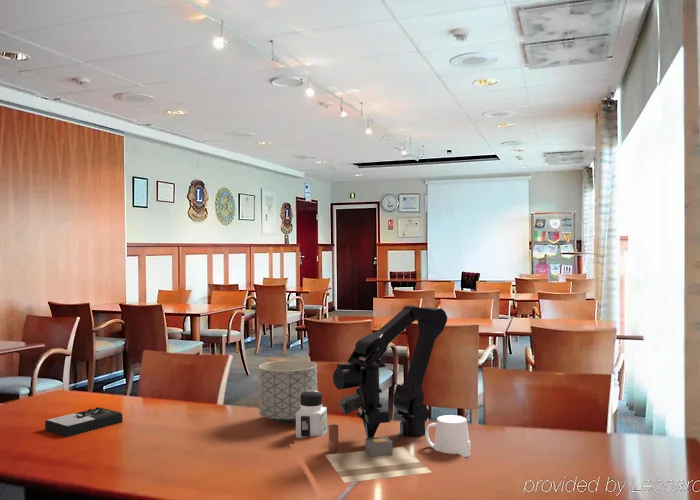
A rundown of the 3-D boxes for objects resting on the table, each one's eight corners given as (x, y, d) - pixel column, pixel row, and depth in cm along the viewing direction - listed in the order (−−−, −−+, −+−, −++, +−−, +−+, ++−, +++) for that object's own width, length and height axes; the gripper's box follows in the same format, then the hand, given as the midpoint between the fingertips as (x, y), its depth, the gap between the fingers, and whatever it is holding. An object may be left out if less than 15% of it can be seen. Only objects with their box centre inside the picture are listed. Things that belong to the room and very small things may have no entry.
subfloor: (403, 451, 164) (403, 446, 164) (432, 477, 145) (432, 472, 145) (325, 459, 158) (325, 455, 158) (344, 487, 139) (344, 482, 139)
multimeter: (123, 423, 196) (123, 408, 196) (66, 438, 181) (66, 422, 181) (100, 417, 204) (100, 403, 204) (44, 431, 188) (44, 415, 188)
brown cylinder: (337, 453, 163) (337, 423, 163) (339, 456, 160) (339, 426, 160) (327, 454, 162) (327, 424, 162) (330, 457, 160) (329, 427, 160)
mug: (471, 416, 164) (468, 424, 156) (471, 450, 164) (468, 459, 156) (427, 413, 168) (422, 421, 160) (428, 446, 168) (423, 455, 160)
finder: (386, 449, 162) (386, 435, 162) (392, 455, 157) (392, 440, 157) (365, 451, 160) (365, 437, 160) (370, 457, 156) (370, 442, 156)
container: (321, 439, 175) (320, 395, 175) (295, 438, 176) (295, 394, 177) (327, 432, 182) (326, 389, 183) (302, 430, 184) (302, 388, 184)
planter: (286, 410, 209) (285, 358, 209) (329, 418, 198) (328, 363, 198) (247, 422, 194) (246, 366, 194) (291, 432, 182) (290, 373, 183)
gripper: (333, 379, 173) (333, 433, 173) (350, 394, 155) (351, 454, 155) (369, 377, 176) (370, 430, 176) (390, 391, 158) (391, 449, 158)
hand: (369, 440), depth 167 cm, fingers closed
